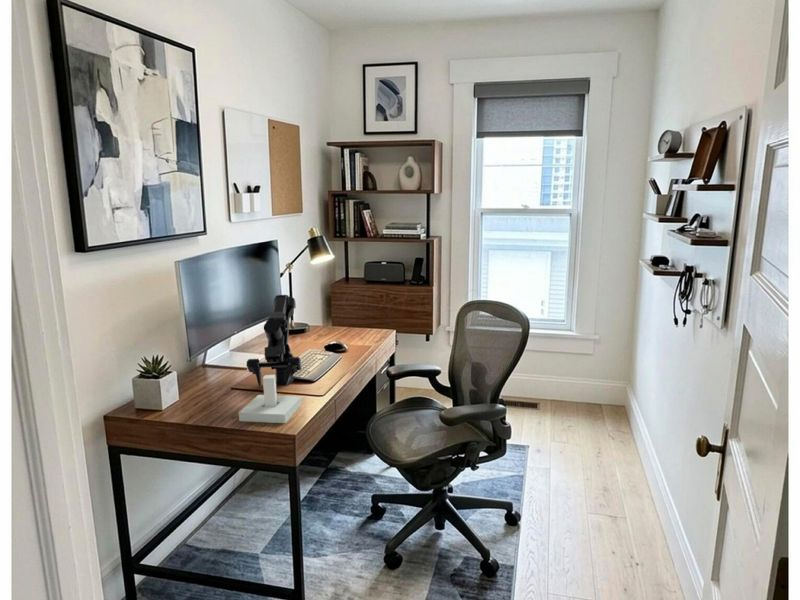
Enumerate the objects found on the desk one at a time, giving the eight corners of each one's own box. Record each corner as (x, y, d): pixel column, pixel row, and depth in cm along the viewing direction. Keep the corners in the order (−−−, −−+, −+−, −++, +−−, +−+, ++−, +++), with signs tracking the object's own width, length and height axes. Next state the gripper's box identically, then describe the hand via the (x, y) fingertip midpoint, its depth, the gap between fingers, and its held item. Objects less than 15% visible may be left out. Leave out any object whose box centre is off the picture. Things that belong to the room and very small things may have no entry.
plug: (267, 410, 185) (264, 375, 182) (277, 410, 185) (275, 374, 183) (265, 414, 181) (262, 378, 179) (276, 414, 182) (273, 378, 179)
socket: (259, 402, 192) (258, 394, 192) (301, 404, 190) (301, 396, 189) (239, 421, 177) (238, 412, 176) (285, 423, 174) (284, 414, 174)
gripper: (245, 337, 189) (241, 378, 180) (298, 335, 190) (296, 375, 181) (251, 352, 198) (247, 391, 189) (302, 350, 199) (300, 388, 191)
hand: (272, 386), depth 188 cm, fingers open, 9 cm apart
